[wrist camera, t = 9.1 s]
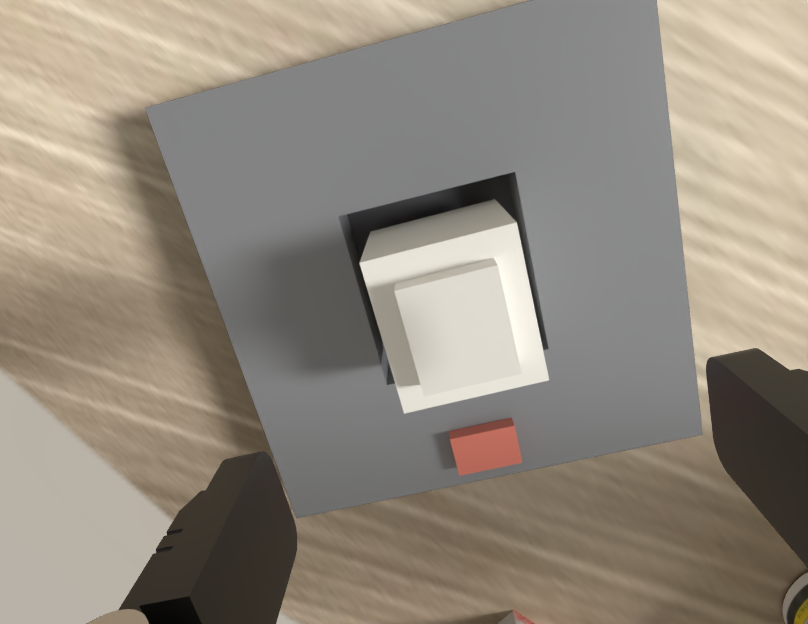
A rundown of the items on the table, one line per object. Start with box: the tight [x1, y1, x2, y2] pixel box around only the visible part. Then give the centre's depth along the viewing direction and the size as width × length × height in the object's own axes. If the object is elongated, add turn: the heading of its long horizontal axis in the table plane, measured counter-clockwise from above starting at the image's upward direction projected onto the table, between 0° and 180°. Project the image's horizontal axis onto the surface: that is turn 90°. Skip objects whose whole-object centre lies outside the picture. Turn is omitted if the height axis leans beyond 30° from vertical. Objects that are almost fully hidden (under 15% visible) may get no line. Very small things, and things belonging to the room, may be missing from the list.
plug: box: [360, 199, 549, 414], centre depth 19 cm, size 4×5×7 cm
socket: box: [145, 0, 703, 518], centre depth 21 cm, size 16×16×3 cm
